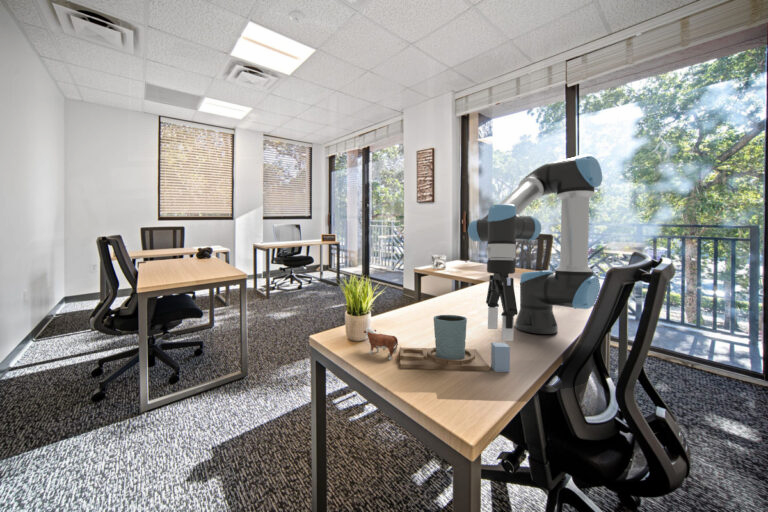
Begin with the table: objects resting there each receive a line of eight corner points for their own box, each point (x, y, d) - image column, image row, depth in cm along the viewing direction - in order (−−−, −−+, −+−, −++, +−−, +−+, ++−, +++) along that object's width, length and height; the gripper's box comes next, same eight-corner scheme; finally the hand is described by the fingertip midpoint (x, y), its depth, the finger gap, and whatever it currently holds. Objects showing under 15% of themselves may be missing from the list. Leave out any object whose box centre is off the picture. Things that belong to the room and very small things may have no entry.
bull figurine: (368, 350, 108) (368, 326, 108) (400, 358, 99) (400, 332, 99) (359, 353, 104) (359, 328, 104) (391, 362, 96) (392, 335, 96)
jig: (475, 352, 105) (475, 346, 105) (489, 370, 89) (489, 362, 89) (400, 351, 106) (400, 344, 106) (400, 368, 90) (400, 360, 90)
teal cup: (450, 364, 90) (451, 322, 90) (426, 355, 99) (426, 316, 99) (473, 357, 96) (473, 318, 96) (448, 349, 105) (448, 313, 105)
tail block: (505, 366, 92) (505, 342, 92) (509, 372, 88) (509, 346, 88) (491, 366, 92) (491, 342, 92) (495, 371, 88) (495, 346, 88)
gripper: (477, 258, 103) (475, 324, 103) (501, 259, 78) (499, 345, 78) (500, 259, 102) (499, 325, 102) (532, 260, 77) (531, 346, 77)
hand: (499, 334), depth 90 cm, fingers open, 13 cm apart
